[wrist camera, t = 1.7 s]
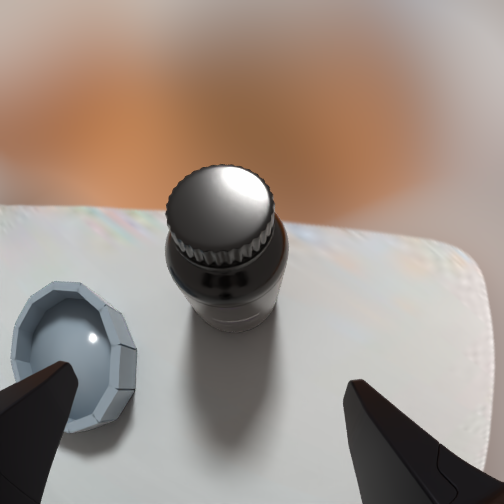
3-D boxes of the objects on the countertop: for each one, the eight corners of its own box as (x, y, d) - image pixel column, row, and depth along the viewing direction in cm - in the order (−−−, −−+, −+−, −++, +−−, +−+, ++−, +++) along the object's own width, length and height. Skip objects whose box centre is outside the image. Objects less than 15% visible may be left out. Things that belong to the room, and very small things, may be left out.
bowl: (163, 344, 20) (150, 338, 18) (96, 455, 16) (77, 460, 13) (71, 270, 23) (54, 257, 21) (16, 365, 19) (-3, 361, 16)
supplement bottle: (231, 352, 20) (202, 316, 10) (177, 289, 23) (115, 205, 12) (295, 293, 22) (329, 205, 12) (239, 239, 25) (226, 130, 14)
